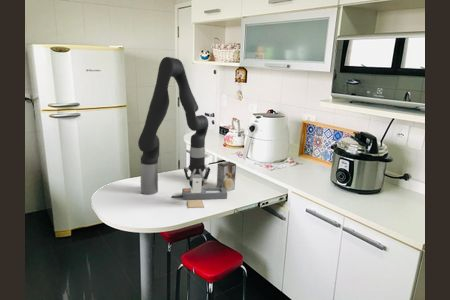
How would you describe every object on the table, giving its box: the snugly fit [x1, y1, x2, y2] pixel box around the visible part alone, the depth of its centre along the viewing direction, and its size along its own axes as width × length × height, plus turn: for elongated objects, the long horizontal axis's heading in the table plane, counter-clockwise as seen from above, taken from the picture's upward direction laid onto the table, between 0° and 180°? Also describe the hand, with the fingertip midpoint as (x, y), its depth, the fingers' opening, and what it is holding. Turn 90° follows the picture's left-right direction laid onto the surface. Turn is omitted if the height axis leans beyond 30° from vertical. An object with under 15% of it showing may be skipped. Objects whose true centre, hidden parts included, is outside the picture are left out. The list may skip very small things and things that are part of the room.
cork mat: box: [186, 200, 205, 209], centre depth 170 cm, size 8×8×1 cm
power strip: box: [171, 187, 228, 201], centre depth 179 cm, size 30×8×4 cm, turn 102°
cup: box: [194, 153, 211, 185], centre depth 198 cm, size 11×11×17 cm
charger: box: [191, 176, 203, 192], centre depth 167 cm, size 5×5×7 cm
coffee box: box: [216, 161, 237, 193], centre depth 189 cm, size 9×6×16 cm
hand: (196, 186), depth 167 cm, fingers closed on charger, 4 cm apart
